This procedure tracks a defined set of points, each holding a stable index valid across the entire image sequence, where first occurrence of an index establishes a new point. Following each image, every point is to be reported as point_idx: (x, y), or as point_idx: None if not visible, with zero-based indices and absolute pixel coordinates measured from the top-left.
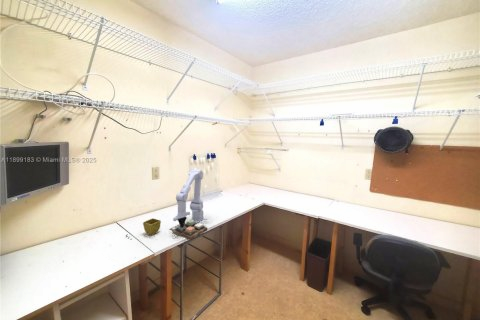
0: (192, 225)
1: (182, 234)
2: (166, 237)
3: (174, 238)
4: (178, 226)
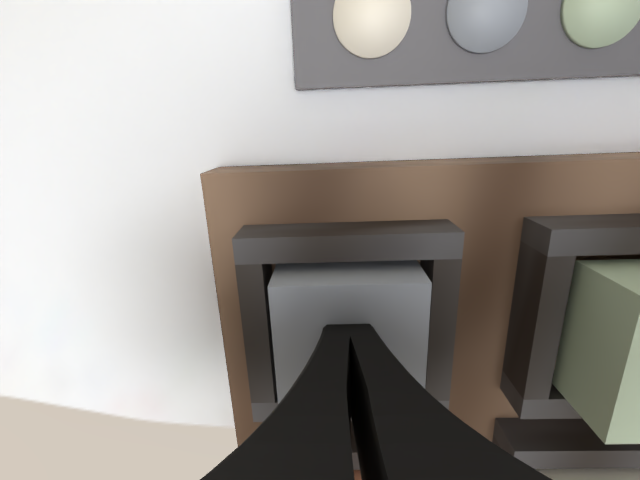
0: (575, 415)
1: (236, 426)
2: (61, 202)
3: (140, 330)
4: (496, 38)
